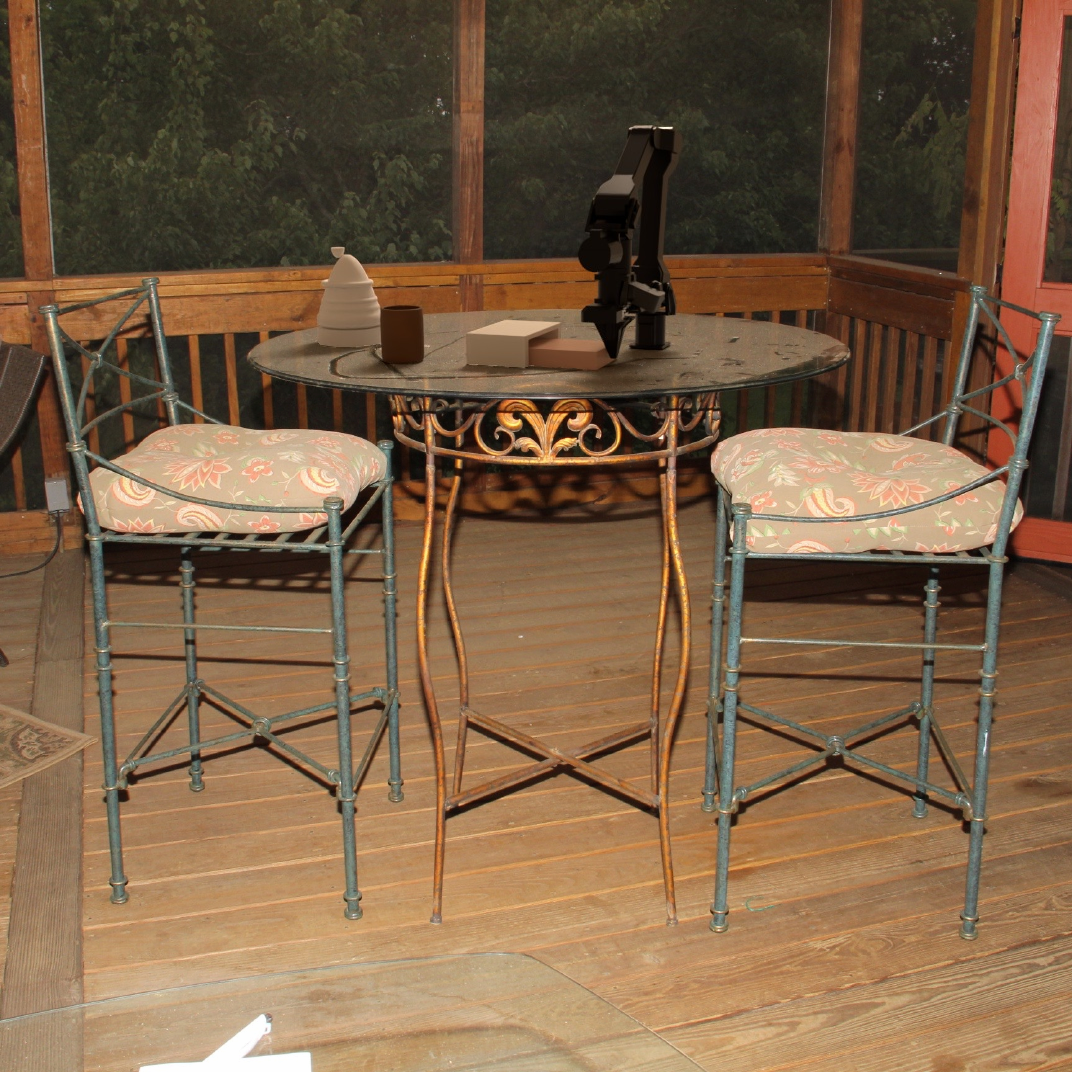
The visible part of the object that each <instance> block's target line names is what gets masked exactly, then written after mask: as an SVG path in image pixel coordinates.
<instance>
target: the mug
mask: <svg viewBox="0 0 1072 1072" xmlns="http://www.w3.org/2000/svg"><path fill="white" fill-rule="evenodd" d="M380 331H381V344H380V346H381V347H380V348H381V350H380V351H381V359H382V361H383V362H385V363H388V364H392V365H395V364H396V365H408V363H411V364H416V363H417V364H418V363H421V362H423V360H424V358H425V328H424V312H423V306H419V305H412V304H411V305H410V304H395V305H387V306H386V305H385V306H382V307H380Z"/></svg>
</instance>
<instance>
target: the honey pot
mask: <svg viewBox="0 0 1072 1072" xmlns="http://www.w3.org/2000/svg"><path fill="white" fill-rule="evenodd" d="M330 251H331V254H332V256H334V257H335V258H336V259H337V261H336V263H335V264H334V266H333V268H332V270H331V272H330V273H329V274H330V275H329V277H328V279H326V278H325V279H323V280H321V282H320V286H322V287H323V288H324V292H323V295H322V297H321V300H320V301H321V304H320V306H319V311H318V313H317V315H316V325H317V326H316V332H317V344H318V343H319V344H322V345H328V346H334V347H333V348H336V347H356V346H364V345H373V344H379V343H381V331H380V309H381V305H380V304H379V301H378V299H379V298H378V296H377V295H376V293H375V291H374V288H373V285H374V284H375V283H374V280H373V279H371V278H369V277H368V275H367V272H366V271H365V268H364V267H363V266H362V264H361V263H360V261H358V259H357V258H355V256H353V255H352V254H344V253H345V247H344V246H343V247H342V246H334V247H330ZM319 344H318V345H319ZM356 348H357V347H356Z"/></svg>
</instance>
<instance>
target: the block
mask: <svg viewBox="0 0 1072 1072" xmlns="http://www.w3.org/2000/svg"><path fill="white" fill-rule="evenodd" d="M528 356H529V365H534V366H533V367H535V366H544V367H543V368H552V367H563V368H562V369H569V368H578V369H577V370H591V371H597V370H599V369H601V368H603V367H604V366H606V365H608V364H611V362H613V361H616V359H611V358H610V357H609V354H608V352H607V350H606V348H605V345H604V343H603V341H602V340H593V339H592V340H590V339H573V338H572V339H571V338H561V339H555V338H535V337H534V338H532V339H529V340H528Z"/></svg>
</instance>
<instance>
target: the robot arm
mask: <svg viewBox="0 0 1072 1072" xmlns="http://www.w3.org/2000/svg"><path fill="white" fill-rule="evenodd" d="M626 137H627V141H626V143H625V146H624V148H623V151H622V153H621V156H620V157H619V160H618V162H617V163H618V164H616V168H615V170H614V173H613V175H612V177H611V178H610V179H609V180H607V181H605V182H604V183H602V184H601V185H600V186H599V188H598V190H597V192H596V193H595V195H594V197H593V198H592V200H591V203H590V207H589V210H588V211H589V212H588V215H587V220H586V223H585V227H584V234H589V237H587V238H586V239H584V240H583V241H582V243H581V244H580V246H579V249H578V251H577V258H578V261H579V264H580V265H581V267H582V268H583V269H585V270H586V271H587V272H590V273H594V275H593V276H594V281H597V297H595V298H593V300H594V301H593V303H589V304H586V305H585V306H584V307H583V308H582V309H581V310H580V322H581V323H584V324H585V323H587V324H588V323H590V324H594V327H595V328H596V330H597V332H598V335H599V336H600V339H601V341H603V343H604V345H605V348H606V350H607V352H608V354H609V357H610V358H611V359H615V360H617V358H618V357H619V354H620V349H621V347H622V342H623V338H624V334H625V331H626V328H627V327H628V325H629V324H630V323H631V322H633V321H635V324H634V326H635V327H634V342H633V343H630V344H628V347H629V348H632V349H633V348H634V349H636V348H637V349H652V350H653V349H654V350H663V349H664V348H667V347H668V346H670V345H672V343H671V341H666V330H667V329H666V328H667V327H666V324H667V323H666V320H667V317H670V316H677V309H678V308H677V307H678V306H677V303H678V302H677V298H676V294H675V291H674V288H673V284H672V283H671V273H670V271H669V269H668V267H667V266H666V264H665V261H664V248H665V247H664V244H665V231H666V230H665V229H666V217H667V204H668V203H667V201H668V191H669V190H668V189H669V186H668V185H669V178H670V177H671V176H672V174H673V172H674V170H675V169H676V168H677V166H678V164H679V160H680V159H679V158H680V154H681V153H682V150H683V145H684V144H683V143H684V142H683V136H682V133H681V132H679V131H677V128H676V127H675V126H666V127H665V126H655V125H633V126H631V127H629V128H628V130H627V136H626ZM641 185H642V186H641ZM640 187H642V188H641V201H640V200H639V196H638V195H639V194H638V193H639V192H638V191H639V189H640ZM640 202H641V203H640ZM638 222H639V230H638V246H637V257H636V259H635V260H634V262H633V261H632V257H633V256H632V255H633V252H632V249H633V247H632V246H633V239H632V238H634V234H633V232H634V230H636V228H637V225H638ZM632 262H633V263H632ZM630 314H632V315H630ZM633 314H634V315H635V316H634V315H633Z"/></svg>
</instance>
